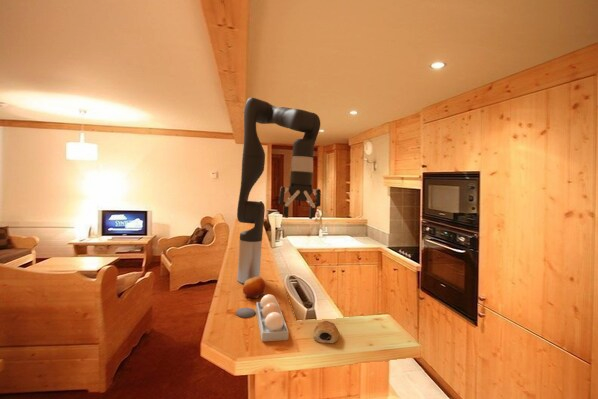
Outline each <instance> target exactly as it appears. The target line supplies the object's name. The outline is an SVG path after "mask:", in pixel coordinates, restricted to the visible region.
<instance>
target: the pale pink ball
mask: <svg viewBox="0 0 598 399" xmlns="http://www.w3.org/2000/svg"><path fill="white" fill-rule="evenodd" d="M279 307H280V306H279ZM279 307H278V305H277V304H275V303H268V304H266V305H265V306H264V308H263V311H262V314H263V317H264V318H266V317H267V315H268V314H270V313H272V312H277V313H279V314H280V309H281V308H280V309H279Z"/></svg>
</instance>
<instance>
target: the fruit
mask: <svg viewBox="0 0 598 399" xmlns="http://www.w3.org/2000/svg"><path fill="white" fill-rule="evenodd" d="M265 283H266V281H265V280H264V278H262V277H261V276H260V277H257V276H256V277H253V278H250V279H248V280H246V282H245V283H243V287H242V293H243V294H244V295H245V296H246V297H247V298H249V299H254V298H256V299H259V297H260V296H265V295H264V291H265V288H266V284H265Z"/></svg>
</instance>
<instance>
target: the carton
mask: <svg viewBox="0 0 598 399" xmlns="http://www.w3.org/2000/svg"><path fill="white" fill-rule="evenodd" d="M260 302H261V301H256V303H255V304H256V306H255V312H256V315H257V322H258V327H259V333H260V338H261V342H274V341H275V342H276V341H288V340H289V333H290V330H289V329H288V326H287V324H286V321H285V317H284V315H283V312H282V309H281V307H280V304H279V301H277V305H278V307H279V309H280V314H281V316H282V317H283V321H284V323H283V327H282V328H281V330H279V331H276V332H270V331H268V330H267V329H266V327H265V318H264V317H263V314H262V311H263V309H262V308H261V305H260Z"/></svg>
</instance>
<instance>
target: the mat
mask: <svg viewBox="0 0 598 399" xmlns="http://www.w3.org/2000/svg"><path fill="white" fill-rule="evenodd" d="M235 314H236V316H237V317H238V318H244V319H245V318H251V317H254V316H255V315H256V309H254V308H251V307H241V308H238V309H237V310H236V312H235Z"/></svg>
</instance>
